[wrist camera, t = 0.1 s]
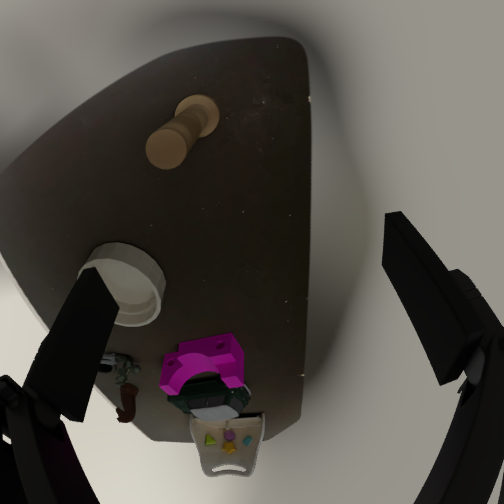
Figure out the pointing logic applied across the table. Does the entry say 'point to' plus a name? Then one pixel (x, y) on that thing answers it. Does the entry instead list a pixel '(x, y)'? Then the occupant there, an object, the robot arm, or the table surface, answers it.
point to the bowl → (130, 281)
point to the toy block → (203, 362)
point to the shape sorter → (228, 443)
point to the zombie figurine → (123, 372)
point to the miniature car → (211, 400)
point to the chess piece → (127, 403)
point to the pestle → (182, 131)
